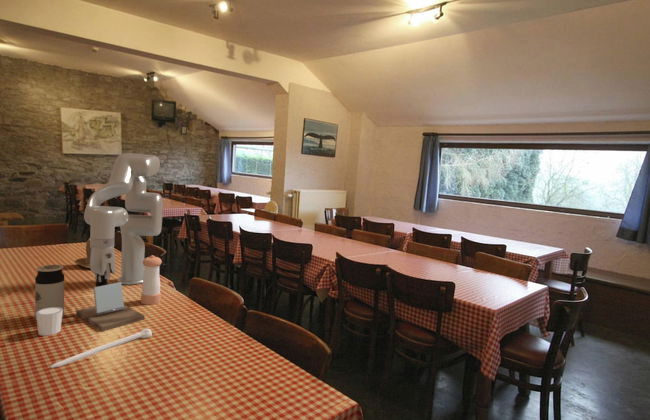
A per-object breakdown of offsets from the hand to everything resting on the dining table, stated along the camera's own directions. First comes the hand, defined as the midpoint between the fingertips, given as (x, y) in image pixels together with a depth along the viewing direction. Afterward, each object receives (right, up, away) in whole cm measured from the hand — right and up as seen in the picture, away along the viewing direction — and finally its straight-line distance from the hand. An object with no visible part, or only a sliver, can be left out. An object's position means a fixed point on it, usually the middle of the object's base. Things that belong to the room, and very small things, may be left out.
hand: (101, 291), depth 133 cm
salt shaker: (+11, -8, +15) cm, 20 cm away
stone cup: (-39, 0, +56) cm, 69 cm away
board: (+5, -8, -3) cm, 10 cm away
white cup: (-6, -9, -17) cm, 21 cm away
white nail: (+18, -12, -26) cm, 34 cm away
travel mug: (-13, -8, -7) cm, 17 cm away
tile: (+4, -2, -3) cm, 5 cm away
